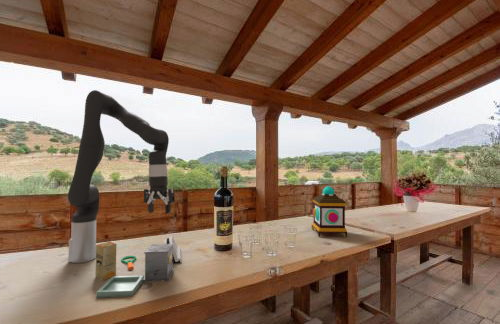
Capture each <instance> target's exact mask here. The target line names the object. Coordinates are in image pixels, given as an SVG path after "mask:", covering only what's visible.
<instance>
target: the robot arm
mask: <svg viewBox="0 0 500 324" xmlns="http://www.w3.org/2000/svg"><path fill="white" fill-rule="evenodd" d="M86 96H87V97H86V98H85V104H84V116H83V117H84V119H83V126H82V127H83V128H82V133H81V138H80V142H79V143H80V144H79V147H78V153H77V159H76V163H75V169H74V173H73V176H72V179H71V183H70V186H69V189H68V192H67V200H68V202H69V204H70V205H71V206H73V207H75V208H76V211H75V212H74V213H73V214H72V216H71V223H70V224H71V227H70V230H71V235H70V238H69V240H68V256H67V257H68V259H67V261H68V263H73V264H82V263H86V262H89V261H93V260H94V259H96V245H97V216H98V214H99V210H100V191H99V189H98V187H97V186H96V185H93V184H91V182H92V178H93V176H94V173H95V172H96V169H97V168H98V167H99V164H100V163H101V161H102V160H103V159H102V158H103V157H104V151H105V144H106V142H105V138H104V135H103V131H102V129H101V117H102V115H105V116H109V117H112V118H114V119H116V120H118V121H119V122H120V123H121V124H122V125H123V126H124V127H125V128H127V129H128V130H129V131H130V132H131V133H134V134H136V135H138V137H140V138H141V140H143V141H144V142H145V143H147V144H149V145H150V146H151V145H152V146H153V149H152V151H149V153H148V164H149V165H148V186H149V187H150V188H144V189H143V203H145V204H147V210H148V213H150V214H152V213H154V212H155V211H154V210H155V208H154V202H155V201H156V200H162V202H164V204H165V205H164V206H165V207H164V208H165V214H170V213H171V211H172V206H171V205H172V204H174V203H175V202H176V199H175V198H176V197H175V190H174V188H168V184H169V183H168V182H169V180H168V178H169V177H168V167H167V152H168V147H169V143H170V141H169V140H170V139H169V135H168V133H167V131H165V130H163V129H158V128H156V127H153V126H151V124H150V123H149V122H148V121H147V120H145V119H144V118H142V117H140V116H138V115H137V114H135V113H133V112H132V111H130V110H128V109H127V108H126V107H125V106H123V105H122V104H121V103H119V102H118V101H117V100H116V99H115V98H114V97H112V96H111V95H109V94H107V93H105V92H103V91H100V90H97V89H95V90H91V91H90V92H89V93H88V94H87V95H86Z"/></svg>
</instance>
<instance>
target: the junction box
mask: <svg viewBox="0 0 500 324" xmlns="http://www.w3.org/2000/svg"><path fill="white" fill-rule="evenodd" d="M172 247H173V244H164V243H160V244H158V243H157V244H150V246H149V247H147V248H146V250H145V251H144V252H143V254H145V256H144V279H143V282H144V283H145V282H167V281H168V282H170V281H169V280H170V279H171V277H172V276H173V275H172V274H173V272H174V271H175V268H173V264H172V257H173V256H172ZM143 282H142V283H143Z"/></svg>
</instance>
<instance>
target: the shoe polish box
mask: <svg viewBox="0 0 500 324" xmlns="http://www.w3.org/2000/svg"><path fill="white" fill-rule="evenodd" d="M94 274H95V278H96V279H98V280H101V281H105V280H107V279H108V280H109V279H111V278H112V277H113V276H117V243H114V242H111V241H106V242H104V243H99V244H96V257H95V273H94Z"/></svg>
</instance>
